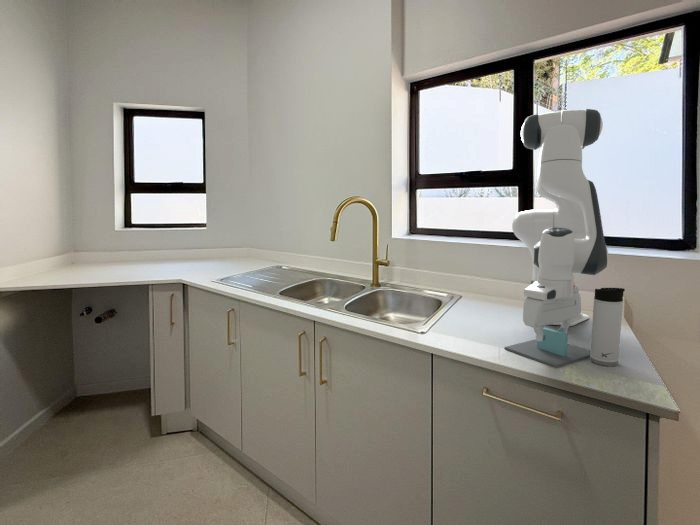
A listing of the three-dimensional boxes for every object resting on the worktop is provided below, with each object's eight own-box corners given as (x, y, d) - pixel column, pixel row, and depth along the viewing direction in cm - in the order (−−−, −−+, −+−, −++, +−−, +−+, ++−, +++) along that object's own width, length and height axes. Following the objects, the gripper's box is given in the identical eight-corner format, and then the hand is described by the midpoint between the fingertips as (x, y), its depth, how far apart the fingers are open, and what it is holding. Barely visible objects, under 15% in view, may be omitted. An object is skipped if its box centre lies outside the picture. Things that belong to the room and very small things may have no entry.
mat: (545, 338, 126) (545, 336, 126) (597, 354, 112) (598, 352, 112) (504, 349, 118) (504, 347, 118) (555, 367, 104) (556, 365, 104)
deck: (540, 346, 117) (541, 326, 117) (566, 355, 110) (568, 333, 110) (537, 347, 117) (538, 327, 116) (563, 356, 110) (564, 334, 109)
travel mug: (608, 368, 103) (614, 290, 100) (584, 359, 109) (589, 285, 106) (624, 364, 105) (631, 287, 102) (600, 356, 111) (605, 283, 108)
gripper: (567, 282, 119) (564, 328, 121) (519, 290, 109) (517, 340, 111) (589, 285, 114) (585, 334, 116) (540, 295, 104) (537, 347, 106)
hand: (551, 337), depth 113 cm, fingers open, 8 cm apart
